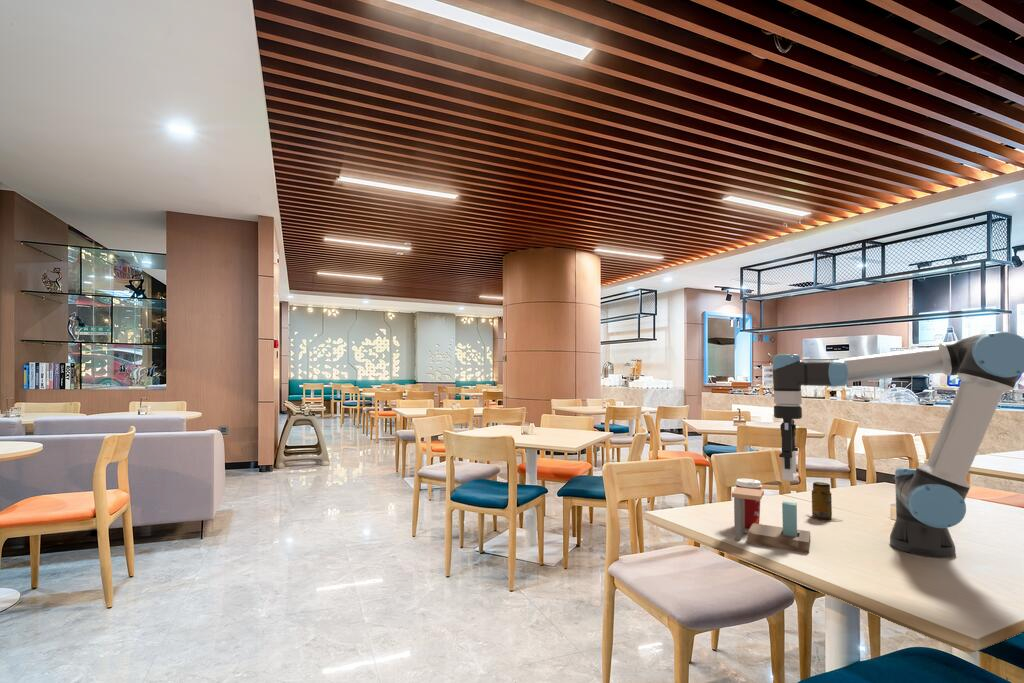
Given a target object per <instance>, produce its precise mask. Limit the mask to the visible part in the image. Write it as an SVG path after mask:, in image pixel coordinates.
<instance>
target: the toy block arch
mask: <svg viewBox="0 0 1024 683" xmlns="http://www.w3.org/2000/svg"><path fill="white" fill-rule="evenodd" d="M764 494H765V490H764V489H761V490H758V489H749V488H740V487H735V488H734V490H733V491H732V492H731V498H733V503H734V505H733V508H734V510H733V512H734V516H733V517H734V540H735V541H742V534H745V533H746V528H745V508H744V499H751V500H759V501H760V502H761V500H762V499H763V496H764Z"/></svg>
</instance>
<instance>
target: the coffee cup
mask: <svg viewBox="0 0 1024 683" xmlns="http://www.w3.org/2000/svg"><path fill="white" fill-rule="evenodd" d="M734 485H735V486H736V487H740V488H749V489H758V490H762V487H763V485H762V483H761V481H760V480H758V479H753V478H737V479H736V482H735V483H734ZM736 487H735V488H736ZM744 508H745V529H748V530H749V529H750V527H751V525H752V524H753V523H755V524H760V520H761V519H760V518H761V517H760V516H761V515H760V514H761V500H760V501H759V500H751V499H744Z"/></svg>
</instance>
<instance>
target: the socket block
mask: <svg viewBox="0 0 1024 683" xmlns="http://www.w3.org/2000/svg"><path fill="white" fill-rule="evenodd" d="M747 544H751V545H756V546H757V545H759V546H764V547H769V548H776V549H782V550H790V551H794V552H800V553H806V554H807V553H808V554H810V550H811V549H810V546H811V531H809V530H804V529H803V530H802V529H797V537H794V536H787V535H783V526H777V525H776V526H775V525H767V524H762V523H759V524H755V523H753V524H752V525H751V527H750V529H748V531H747Z"/></svg>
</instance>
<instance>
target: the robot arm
mask: <svg viewBox="0 0 1024 683" xmlns="http://www.w3.org/2000/svg"><path fill="white" fill-rule="evenodd" d="M1023 373H1024V337H1022V336H1020V335H1018V334H1016V333H1014V332H1010V331H1001V330H995V331H994V330H993V331H988V332H985V333H980V334H976V335H972V336H970V337H966V338H962V339H959V340H954V341H948V342H941V343H939V344H938V345H937V346H935V347H927V348H919V349H912V350H911V349H910V350H902V351H893V352H887V353H886V352H885V353H878V354H871V355H862V356H860V355H859V356H852V357H844V358H837V359H830V360H826V359H825V360H823V359H822V360H802V359H801V356H800V354H795V353H794V354H792V353H791V354H790V353H786V354H785V353H783V354H775V355H774V356H773V358H772V386H773V387H772V388H773V389H772V390H773V393H771V395H770V396H771V397H772V398H773V404H775V405H774V406H773V417H774V418H775V419H781V420H782V422H781V424H780V425H779V426H780V436H781V453H779V454H778V455H779V456H778V457H779V458H781V464H782V465H781V467H782V472H781V473H782V480H783V481H792V482H793V481H794V474H797V458H796V457H797V454H796V452H799V447H797V446H796V438H795V437H796V430H797V425H796V424H795V420H801V419H802V418H803V407H801V405H802V403H803V400H802V398H803V397H802V386H805V387H807V386H809V387H810V386H814V387H817V386H818V387H842V386H846V385H847V384H848V383H855V382H863V381H872V380H874V381H875V380H883V379H894V378H905V377H913V376H923V375H933V374H944V375H945V376H947V377H949V376H950V377H951V376H958V378H959V379H960V384H959V386H958V389H957V391H956V392H955V393H956V394H955V395H954V398H953V400H952V402H951V406H950V408H949V410H948V412H947V414H946V417H945V419H944V422H943V423H942V426H941V428H940V431H939V433H938V436H937V438H936V441H935V442H934V446H933V448H932V450H931V453H930V455H929V457H928V459H927V461H926V463H925V464H921V465H918V466H917V467H916V468H906V467H905V468H904V467H898V468H896V469H895V472H894V481H895V487H894V488H895V511H896V513H895V514H896V515H895V517H896V518H895V521H894V523H893V527H892V529H891V531H890V535H889V544H890V545H891V547H893V548H895V549H897V550H900V551H903V552H906V553H910V554H915V555H918V556H919V555H920V556H923V557H925V556H926V557H932V558H933V557H934V558H952V557H955V556H956V554H957V553H956V545H955V543H954V540H953V538H952V536H951V533H950V531H949V530H950V529H949V528H953V527H955V526H957V525H958V524H960V523H961V522H963V520H964V518H965V516H966V514H967V513H966V512H967V505H966V502H965V500H966V497H967V495H968V493H969V491H970V488H971V485H970V484H969V482H968V481H967V476H968V474H969V471H970V469H971V466H972V465H973V462H974V461H975V458H976V455H977V453H978V451H979V448H980V446H981V444H982V442H983V439H984V437H985V436H986V433H987V431H988V428H989V426H990V424H991V421H992V419H993V417H994V414H995V412H996V410H997V407H998V405H999V403H1000V401H1001V398H1002V397H1003V394H1005V393H1007V392H1010V391H1013V390H1014V389H1015V386H1016V385H1017V382H1018V380H1019V377H1020V375H1022V374H1023Z"/></svg>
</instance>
